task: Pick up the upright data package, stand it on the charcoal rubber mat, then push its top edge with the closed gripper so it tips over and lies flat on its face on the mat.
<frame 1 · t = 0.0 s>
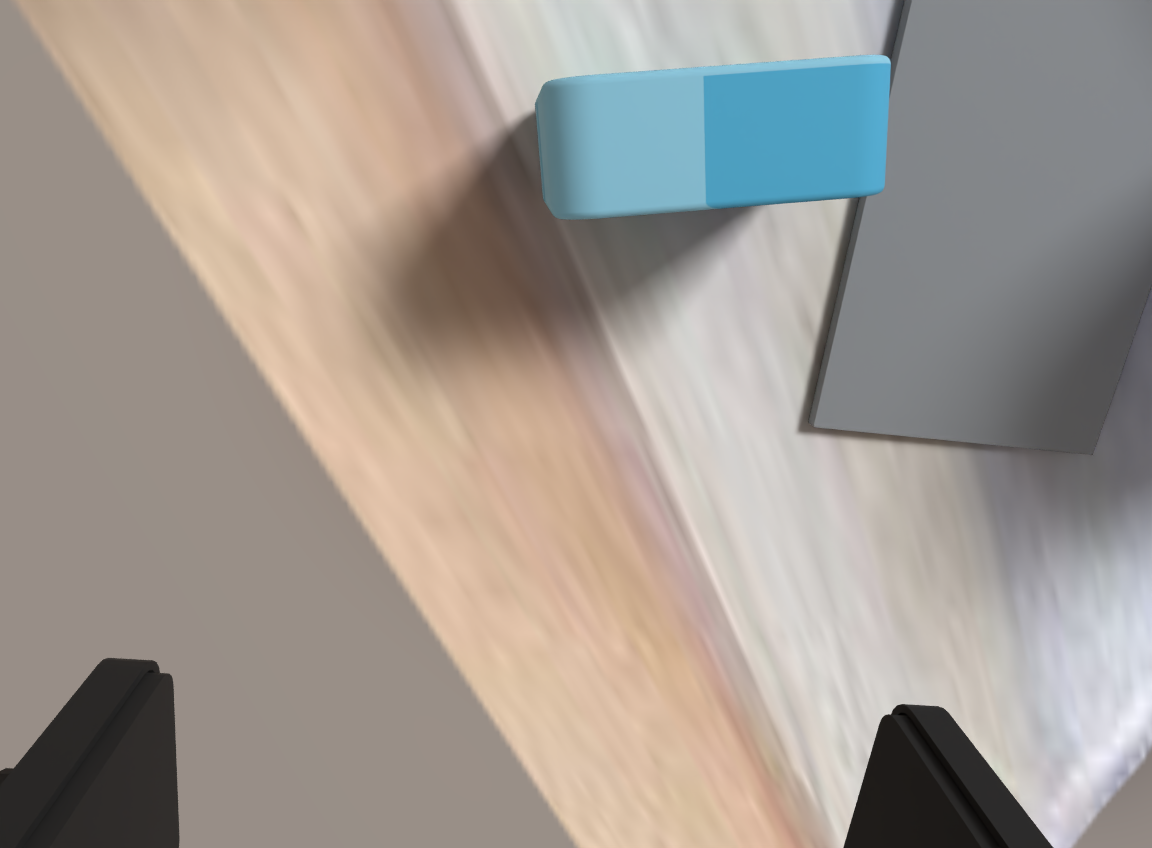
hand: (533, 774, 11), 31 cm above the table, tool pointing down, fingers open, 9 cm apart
data package: (663, 142, 38), on the table
mat: (1007, 231, 40), on the table
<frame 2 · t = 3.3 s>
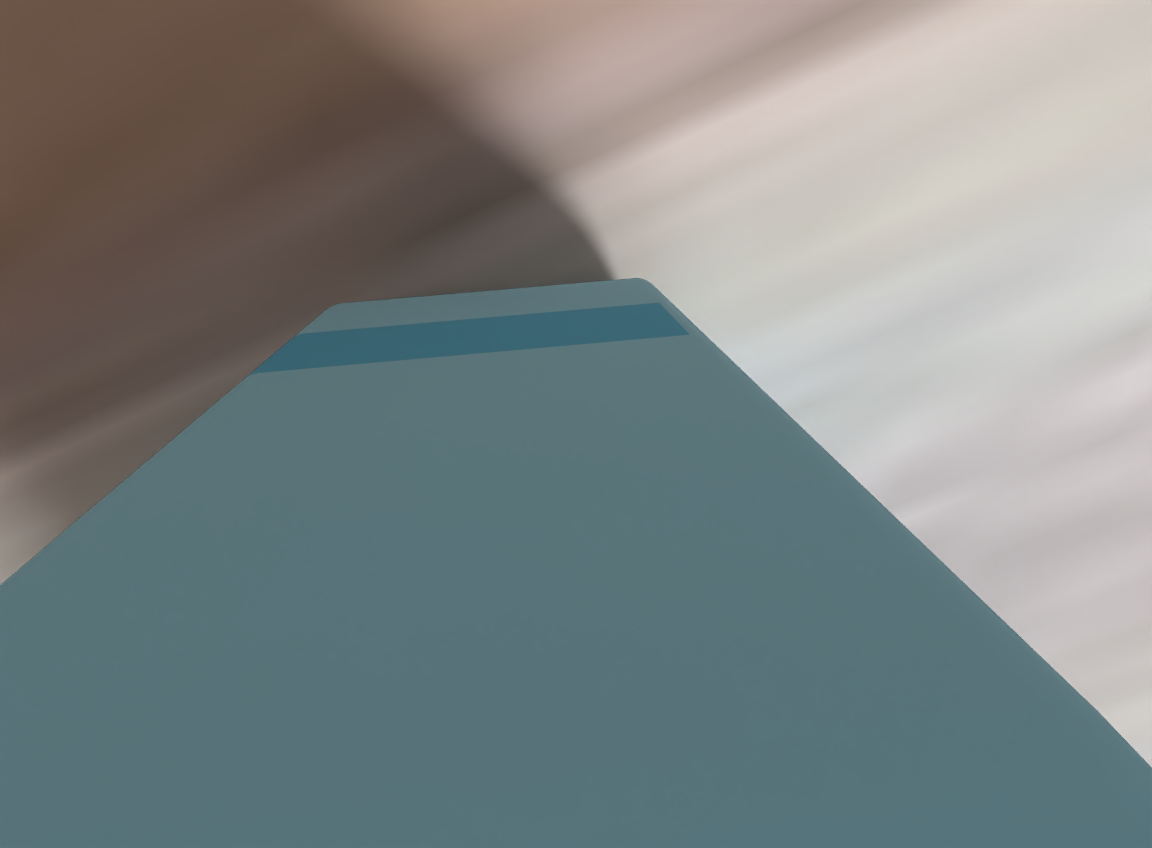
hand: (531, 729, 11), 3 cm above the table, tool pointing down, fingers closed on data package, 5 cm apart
data package: (528, 610, 14), on the table, touching gripper
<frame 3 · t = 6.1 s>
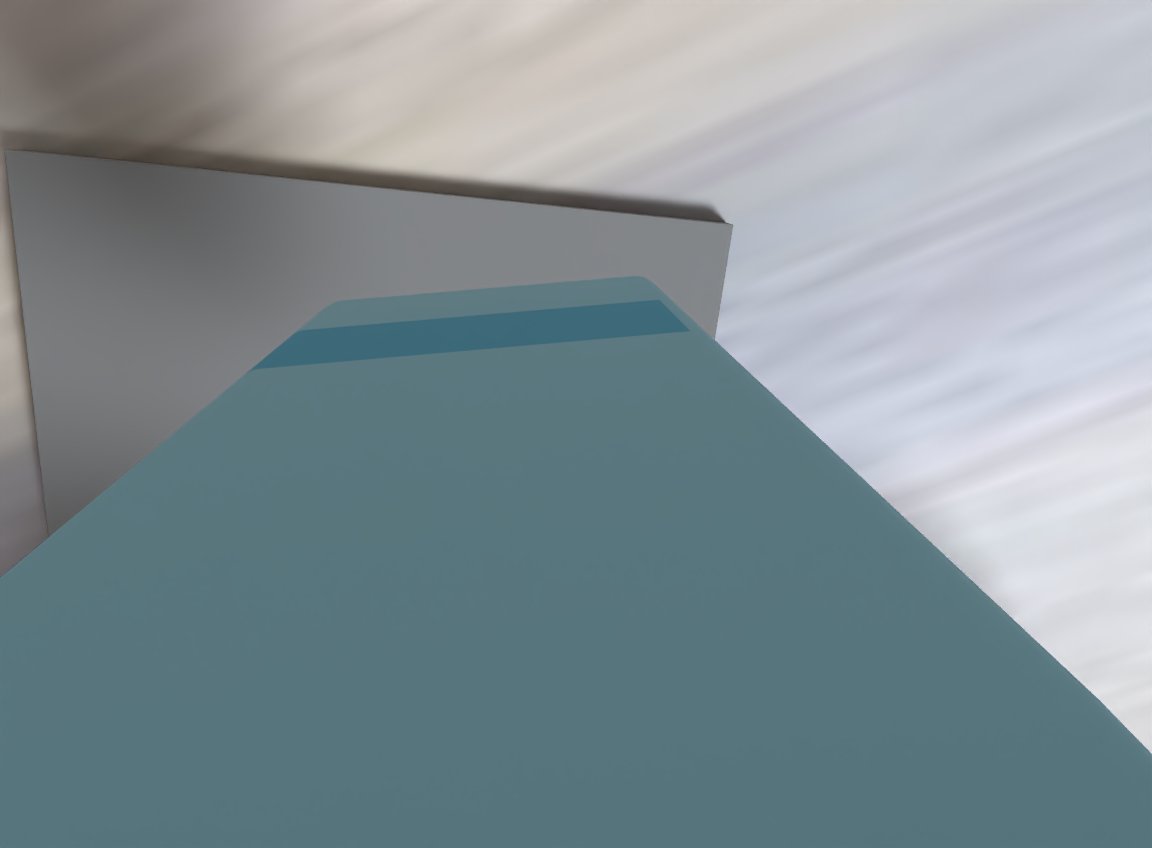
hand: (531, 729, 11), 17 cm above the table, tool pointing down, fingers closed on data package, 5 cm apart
data package: (527, 608, 14), point 14 cm above the table, touching gripper
mat: (382, 426, 28), on the table
when the fingers open (5 cm above the table, at t = 9.0 s): data package drops 1 cm, resting on mat.
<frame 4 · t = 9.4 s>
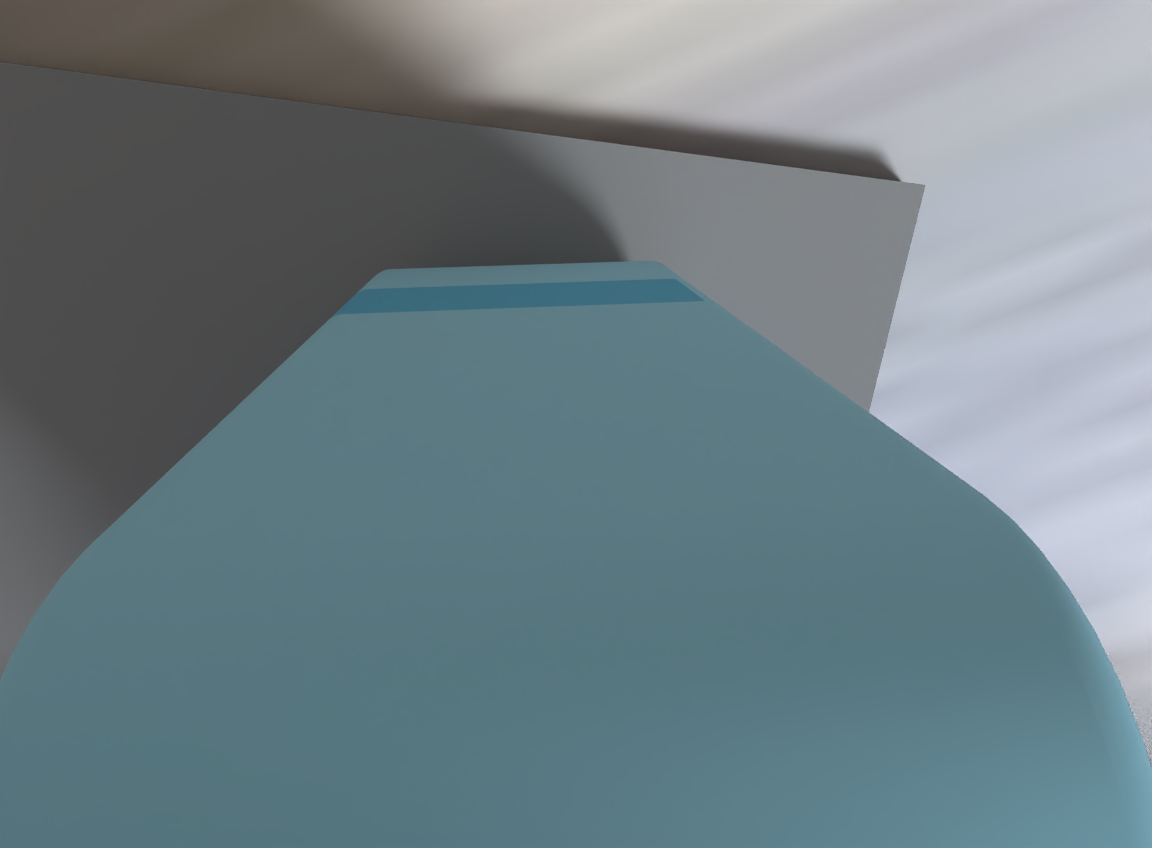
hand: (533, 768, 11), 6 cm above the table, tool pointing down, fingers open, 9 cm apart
data package: (533, 562, 16), point 1 cm above the table, touching mat
mat: (272, 534, 16), on the table
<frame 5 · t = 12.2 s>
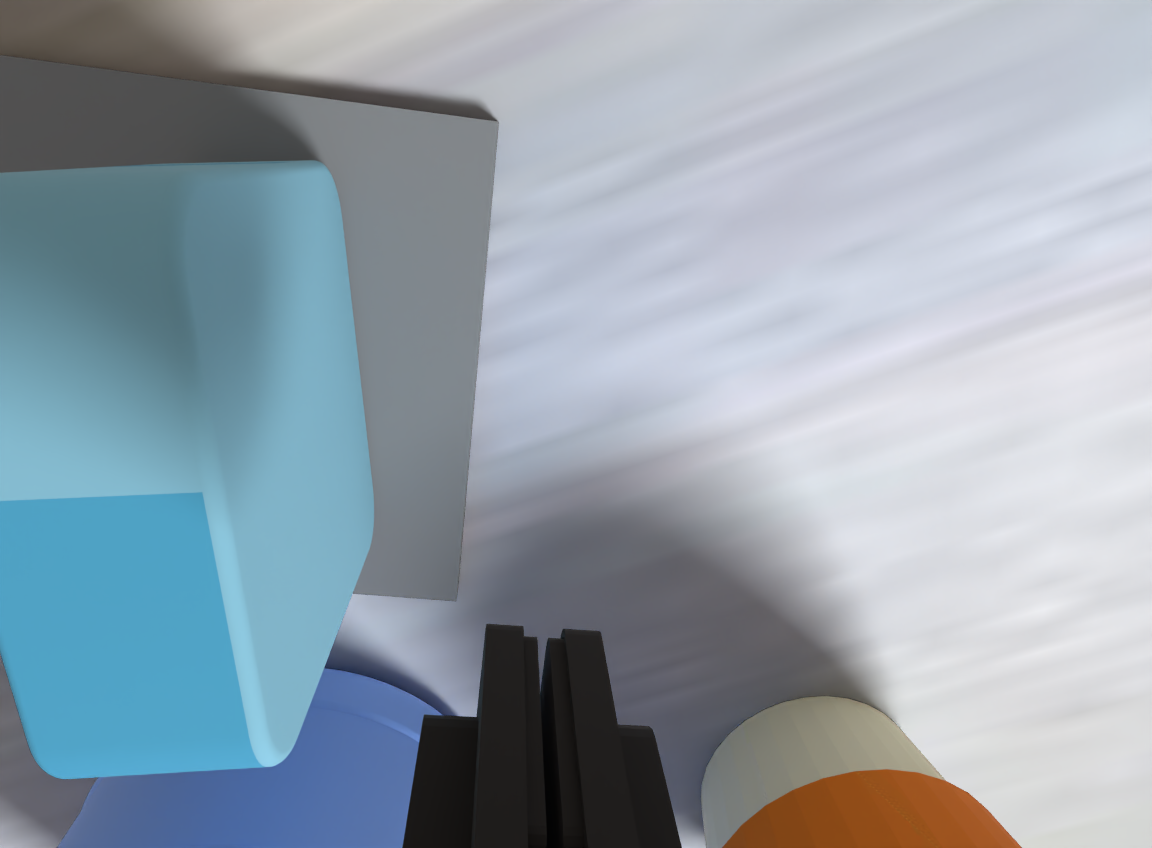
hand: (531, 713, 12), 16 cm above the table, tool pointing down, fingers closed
data package: (289, 360, 25), point 1 cm above the table, touching mat
water jug: (312, 814, 32), on the table
mat: (128, 342, 25), on the table
reusable coffee cup: (805, 782, 33), on the table
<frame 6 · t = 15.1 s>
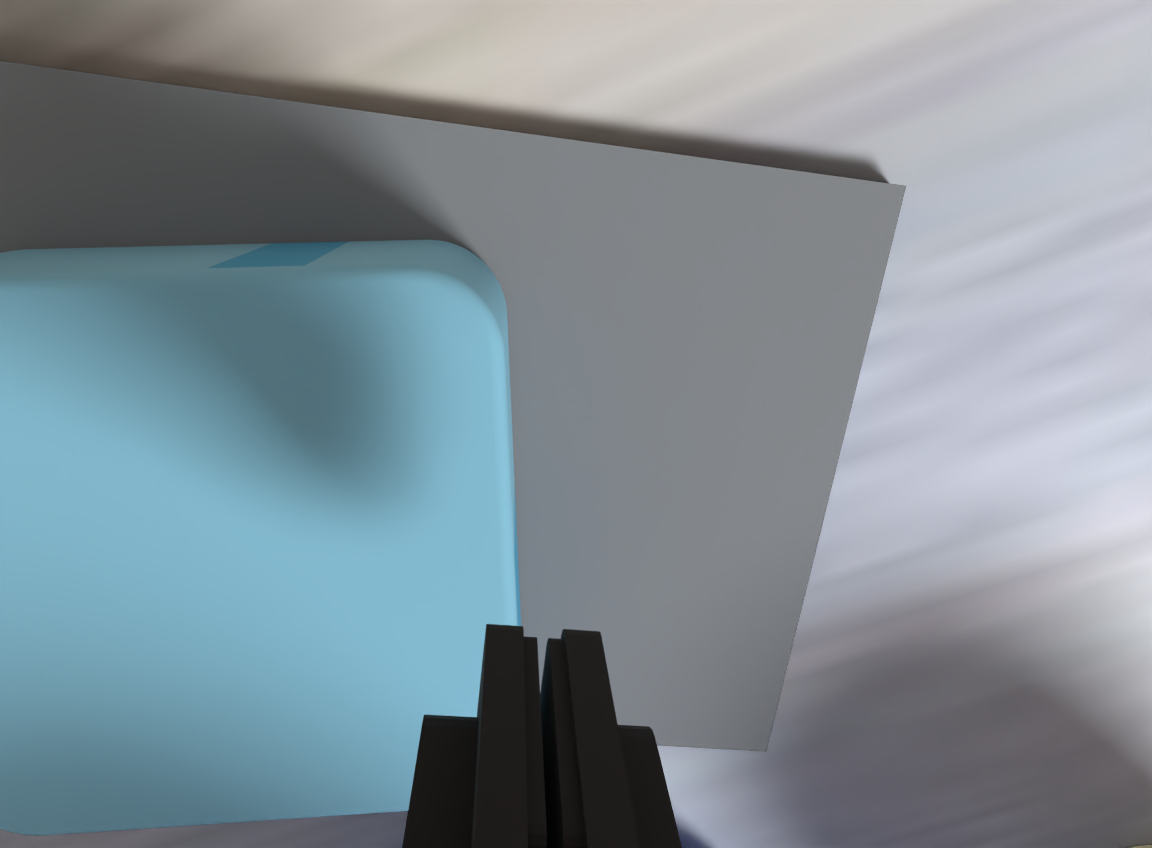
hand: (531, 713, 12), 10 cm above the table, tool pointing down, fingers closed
data package: (523, 519, 18), point 3 cm above the table, touching mat
mat: (405, 451, 21), on the table
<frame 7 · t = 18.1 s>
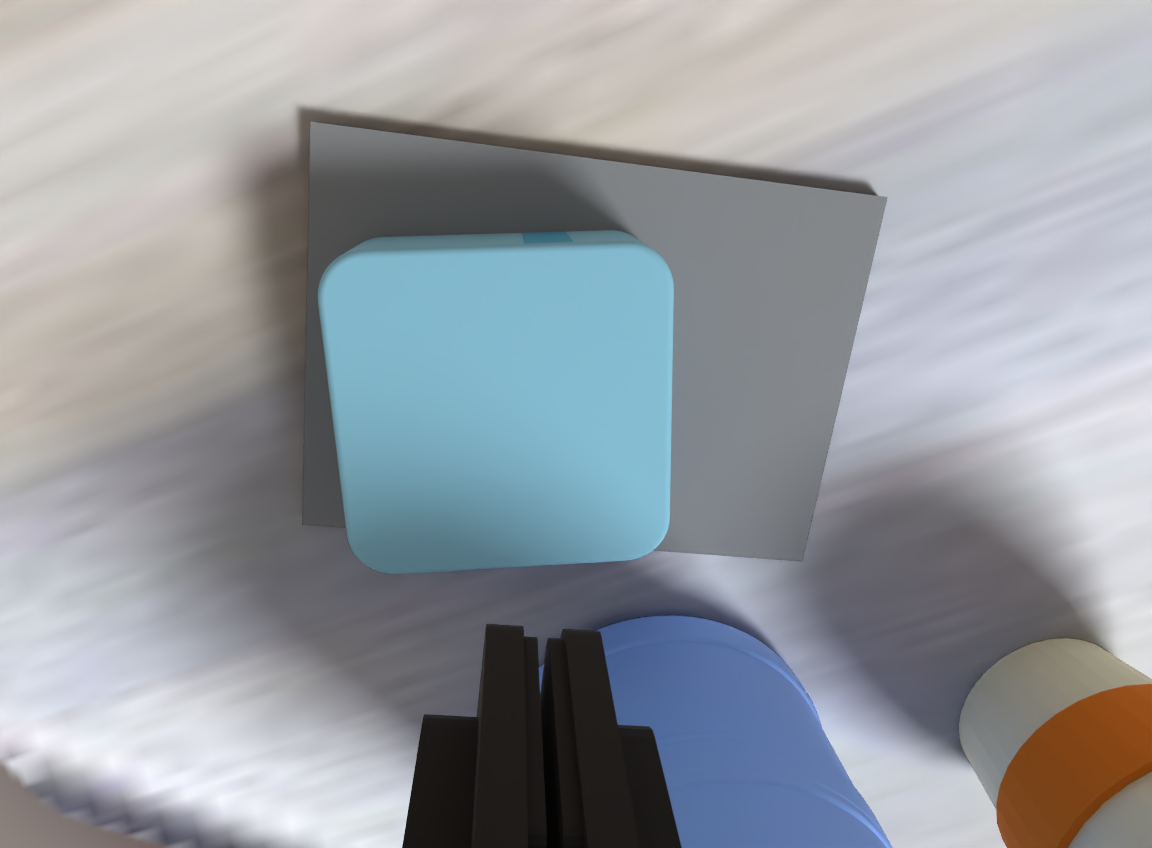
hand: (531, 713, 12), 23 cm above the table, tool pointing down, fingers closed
data package: (666, 393, 31), point 3 cm above the table, touching mat
water jug: (653, 740, 40), on the table
mat: (582, 361, 33), on the table
reusable coffee cup: (1040, 710, 41), on the table
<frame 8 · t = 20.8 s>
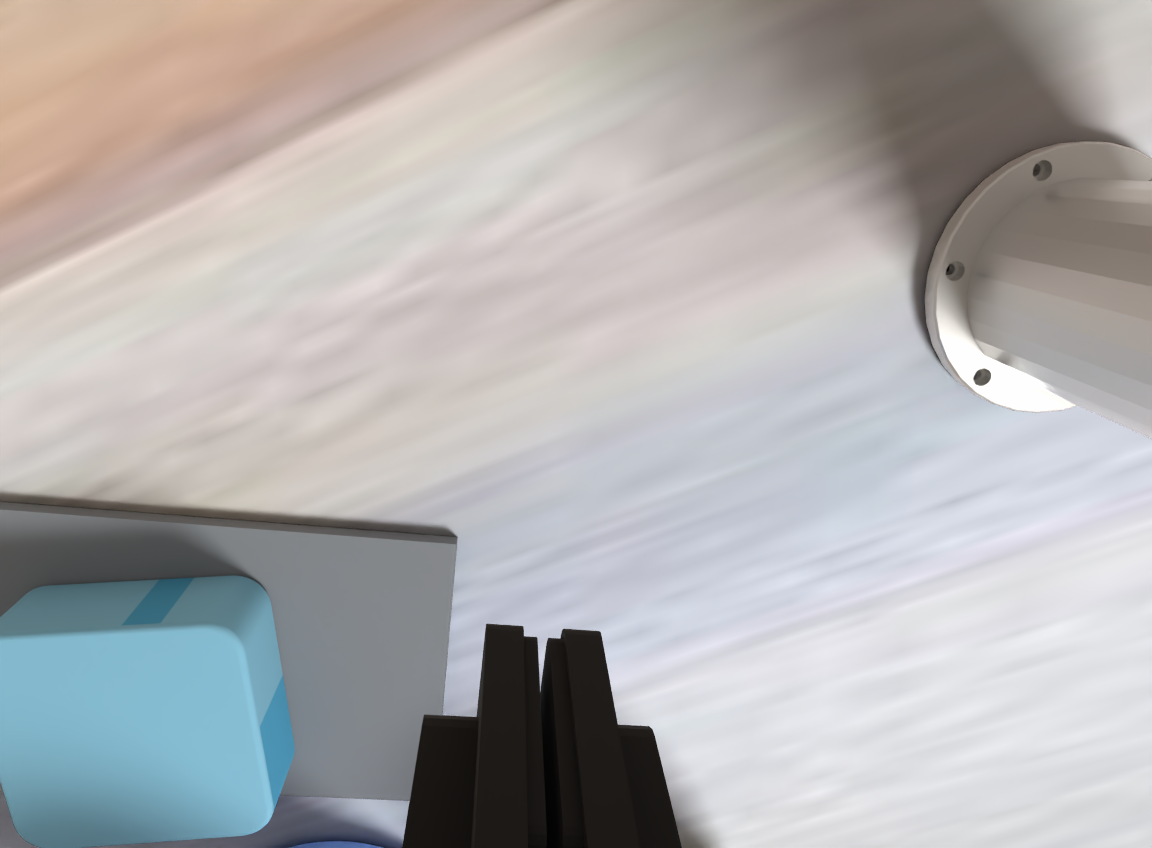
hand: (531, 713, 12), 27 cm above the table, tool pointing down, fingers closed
data package: (276, 702, 39), point 3 cm above the table, touching mat
mat: (233, 658, 42), on the table
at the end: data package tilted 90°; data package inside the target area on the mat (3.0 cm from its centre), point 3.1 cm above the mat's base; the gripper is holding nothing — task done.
